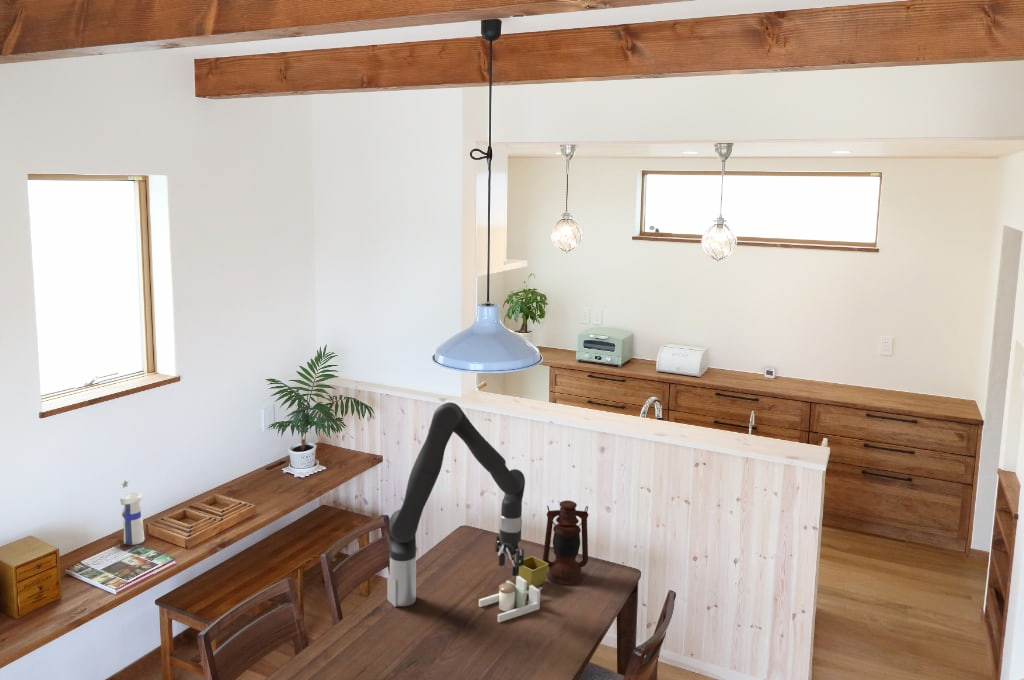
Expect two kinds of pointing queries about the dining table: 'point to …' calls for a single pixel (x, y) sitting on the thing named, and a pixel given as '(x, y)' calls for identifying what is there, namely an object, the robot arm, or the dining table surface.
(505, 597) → the jar
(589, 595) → the dining table surface
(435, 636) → the dining table surface
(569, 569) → the lantern
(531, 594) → the lane
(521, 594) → the pusher
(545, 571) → the flower pot
